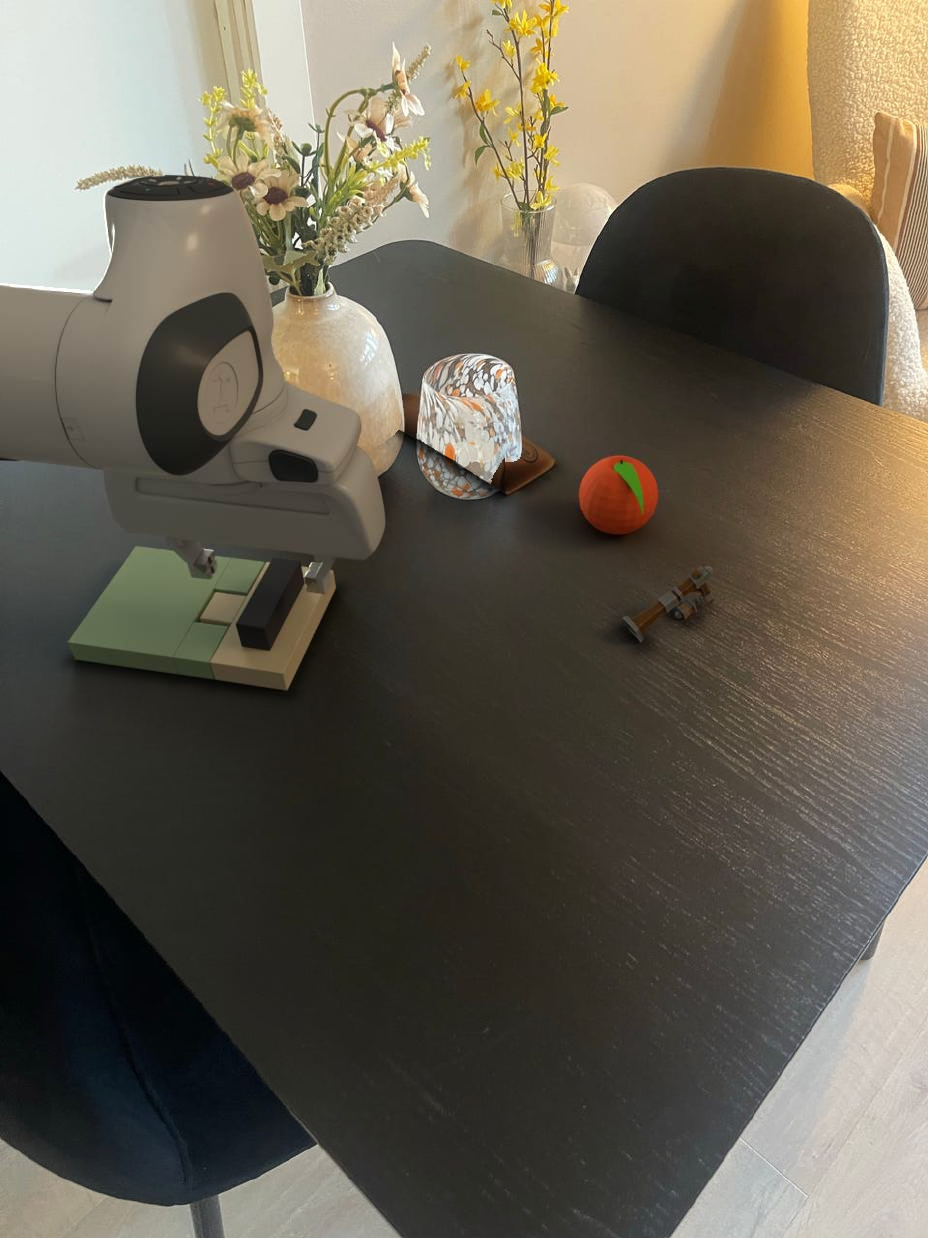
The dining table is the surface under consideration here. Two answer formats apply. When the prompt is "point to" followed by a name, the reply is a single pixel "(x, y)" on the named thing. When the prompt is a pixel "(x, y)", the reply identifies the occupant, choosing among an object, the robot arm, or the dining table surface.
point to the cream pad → (283, 649)
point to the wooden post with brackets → (674, 602)
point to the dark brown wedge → (508, 473)
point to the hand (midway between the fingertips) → (261, 581)
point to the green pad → (160, 614)
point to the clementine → (618, 495)
